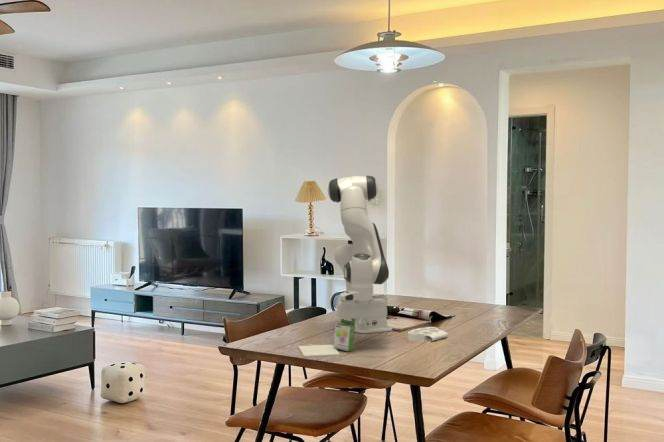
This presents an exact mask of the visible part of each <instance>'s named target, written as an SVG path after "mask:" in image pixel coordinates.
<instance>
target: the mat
mask: <svg viewBox="0 0 664 442" xmlns="http://www.w3.org/2000/svg"><path fill="white" fill-rule="evenodd" d="M297 347H298V350H299V351H300V353H301V355H302V357H303V358H314V357H315V358H316V357H318V358H319V357H335V356H341V352H339V350H338V349H335V348H334V344H317V345H314V344H313V345H298V346H297Z"/></svg>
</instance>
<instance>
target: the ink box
mask: <svg viewBox="0 0 664 442" xmlns="http://www.w3.org/2000/svg"><path fill="white" fill-rule="evenodd" d="M351 320H352V321H348V320H345V319H340V321H339V322H338V323H335V326H334V340H333V346H334V348H335V349H336V350H341V351H345V352H351V351H353V350H354V341H355V339H354V338H355V332H354V331H355V319H351Z"/></svg>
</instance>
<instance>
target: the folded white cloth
mask: <svg viewBox="0 0 664 442" xmlns="http://www.w3.org/2000/svg"><path fill="white" fill-rule="evenodd" d="M447 337H449V333H448V332H446V331H445V330H441V329H439V327H435V326H426V327H419V328H415V329H411V330H410V331H408V332H407V340H408V341H412V340H414V341H415V342H416V341H419V340H420V341H422V340H424V342H428V341H429V340H431V341H429V343H430V342H433V341H438V340H441V339H445V338H447ZM414 341H413V342H414Z"/></svg>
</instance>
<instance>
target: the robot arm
mask: <svg viewBox="0 0 664 442" xmlns="http://www.w3.org/2000/svg"><path fill="white" fill-rule="evenodd" d="M378 192H379V185H378V182H377V179H376V178H375V177H374V176H372V175H366V176H365V175H352V176H347V177H340V178H337V177H336V178H334V179H331V180H330V181H329V182H328V186H327V195H328V196H329V199H330V201H332V202H334V203H340V205H339V206H340V207H339V208H340V209H339V210H340V220H341V224H342V226H343V230H344V233H345V235H346V236H347V237H349V239H350V240H351V242H352V243H347V244H342V245H339V246H337V248H336V249H335V252H334V259H335V262H336V264H337V265H338V266H339V267H340V268H341V271H342V273H343V278H344V280H345V288H346V291H343V292H341V293H340V294H339V299H340V300H339V301H337V305H336V317H337V318H338V319H339V320H341V319H344V320H348V321H352V320H351V319H355V331H354V333H357V334H369V333H381V332H392V331H393V327H392V325H390V324H388V320H387V316H388V308H387V307H388V306H387V304H388V297H387V296H386V295H385V294H383V293H382V294H381V293H380V294H377V293H376V294H375V293H374V285H383V284H384V283H386V281H387V280H388V279H389V276H390V271H389V270H390V269H389V266H388V263H387V260H386V258H385V254H384V250H383V246H382V243H381V242H382V241H381V237H380V235H379V231H378V228H377V226H376V224H375V222H373V221H372V220H370V218H369V216H368V207H367V202H366V200H367V201H368V202H370V201H371V200H373V199H375V198H376V197H377V194H378ZM387 324H388V325H387ZM389 325H390V326H389ZM390 327H391V328H390Z"/></svg>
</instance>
